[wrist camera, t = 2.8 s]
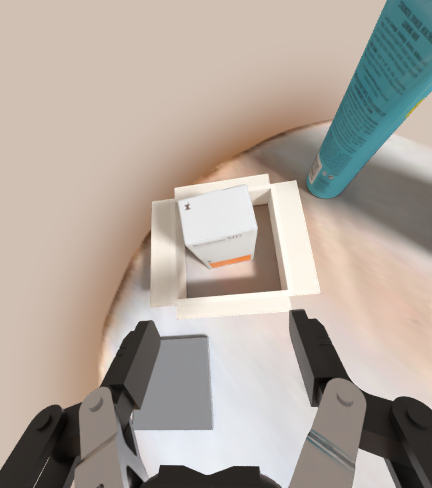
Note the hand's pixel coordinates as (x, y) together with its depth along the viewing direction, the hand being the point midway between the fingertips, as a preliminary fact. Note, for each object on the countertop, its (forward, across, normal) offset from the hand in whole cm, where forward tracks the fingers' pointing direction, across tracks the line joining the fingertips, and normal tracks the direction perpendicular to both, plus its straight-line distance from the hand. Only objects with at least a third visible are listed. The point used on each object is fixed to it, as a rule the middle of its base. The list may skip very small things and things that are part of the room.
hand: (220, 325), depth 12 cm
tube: (+21, -14, -1) cm, 26 cm away
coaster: (+5, +8, +15) cm, 18 cm away
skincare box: (+16, 0, +4) cm, 16 cm away
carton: (+16, 0, +4) cm, 16 cm away
